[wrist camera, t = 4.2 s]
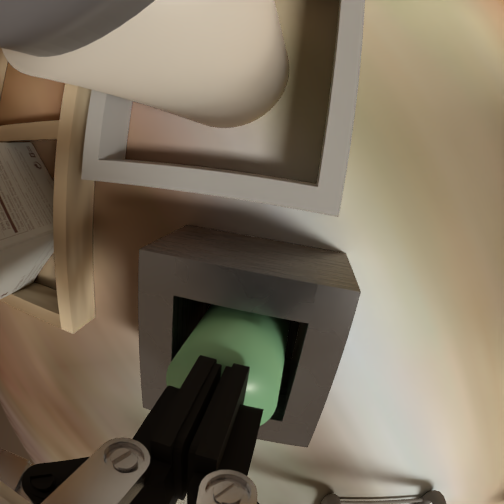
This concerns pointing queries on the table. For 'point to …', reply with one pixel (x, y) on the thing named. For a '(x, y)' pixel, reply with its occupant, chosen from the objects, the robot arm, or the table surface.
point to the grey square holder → (250, 300)
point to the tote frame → (234, 182)
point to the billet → (156, 52)
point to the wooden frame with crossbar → (62, 216)
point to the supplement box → (23, 216)
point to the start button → (238, 352)
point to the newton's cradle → (332, 500)
